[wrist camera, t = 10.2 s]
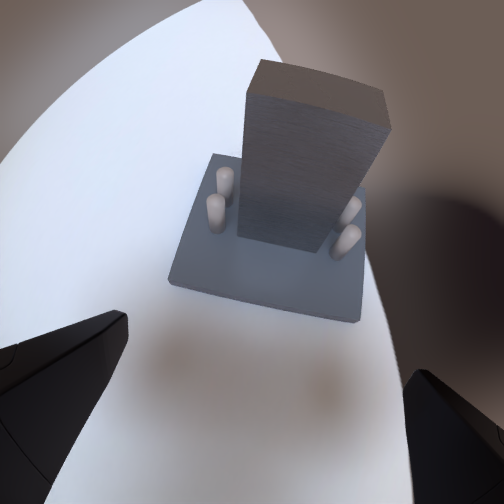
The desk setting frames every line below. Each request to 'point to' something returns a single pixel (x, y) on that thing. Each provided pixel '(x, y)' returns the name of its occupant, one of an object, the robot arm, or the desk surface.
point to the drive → (304, 152)
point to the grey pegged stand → (269, 255)
